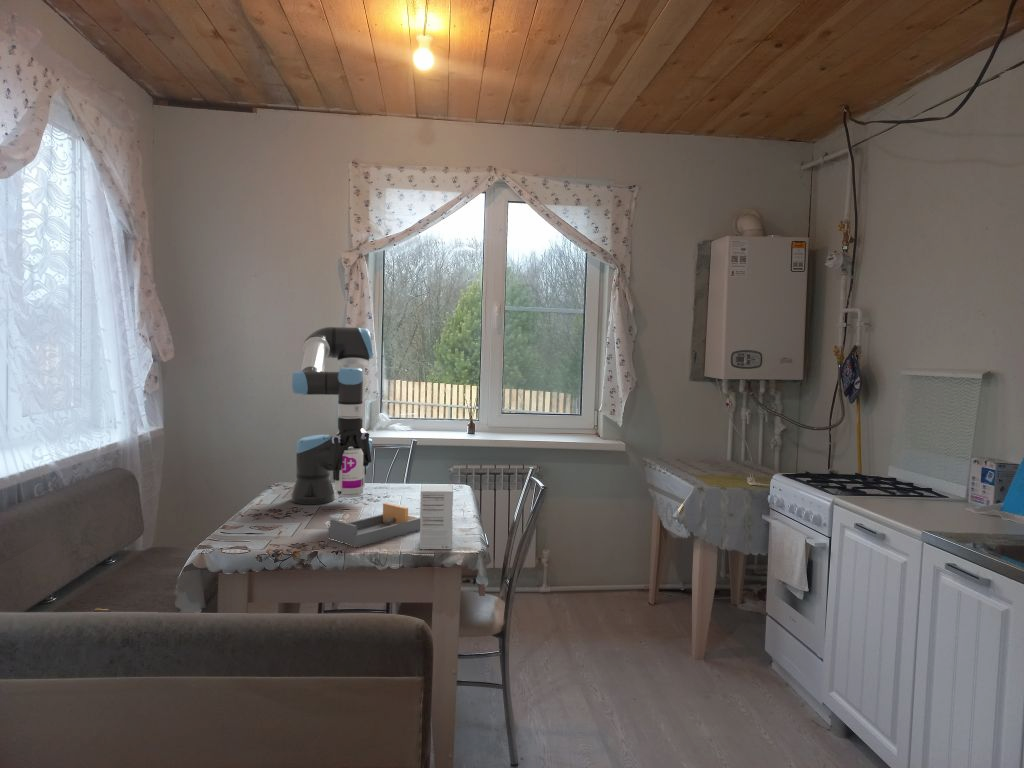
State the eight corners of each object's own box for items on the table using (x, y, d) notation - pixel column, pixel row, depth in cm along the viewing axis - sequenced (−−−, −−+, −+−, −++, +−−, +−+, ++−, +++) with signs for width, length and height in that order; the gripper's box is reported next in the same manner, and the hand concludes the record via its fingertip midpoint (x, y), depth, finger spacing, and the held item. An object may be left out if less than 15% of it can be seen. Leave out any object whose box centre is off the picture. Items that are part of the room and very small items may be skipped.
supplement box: (420, 540, 201) (421, 483, 200) (452, 540, 202) (453, 483, 200) (419, 550, 191) (420, 490, 190) (452, 550, 192) (453, 490, 191)
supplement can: (356, 499, 212) (356, 451, 210) (331, 497, 213) (332, 449, 212) (367, 493, 220) (367, 447, 218) (343, 491, 221) (343, 445, 220)
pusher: (375, 524, 212) (375, 505, 212) (385, 521, 215) (385, 502, 215) (397, 530, 206) (398, 510, 206) (407, 527, 209) (408, 508, 209)
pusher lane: (328, 539, 199) (328, 519, 199) (394, 521, 220) (394, 503, 220) (356, 547, 192) (356, 526, 191) (421, 528, 212) (422, 510, 212)
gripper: (330, 421, 204) (330, 495, 206) (383, 415, 220) (382, 484, 222) (315, 418, 208) (314, 491, 210) (368, 412, 225) (367, 480, 227)
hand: (349, 487), depth 216 cm, fingers closed on supplement can, 8 cm apart
